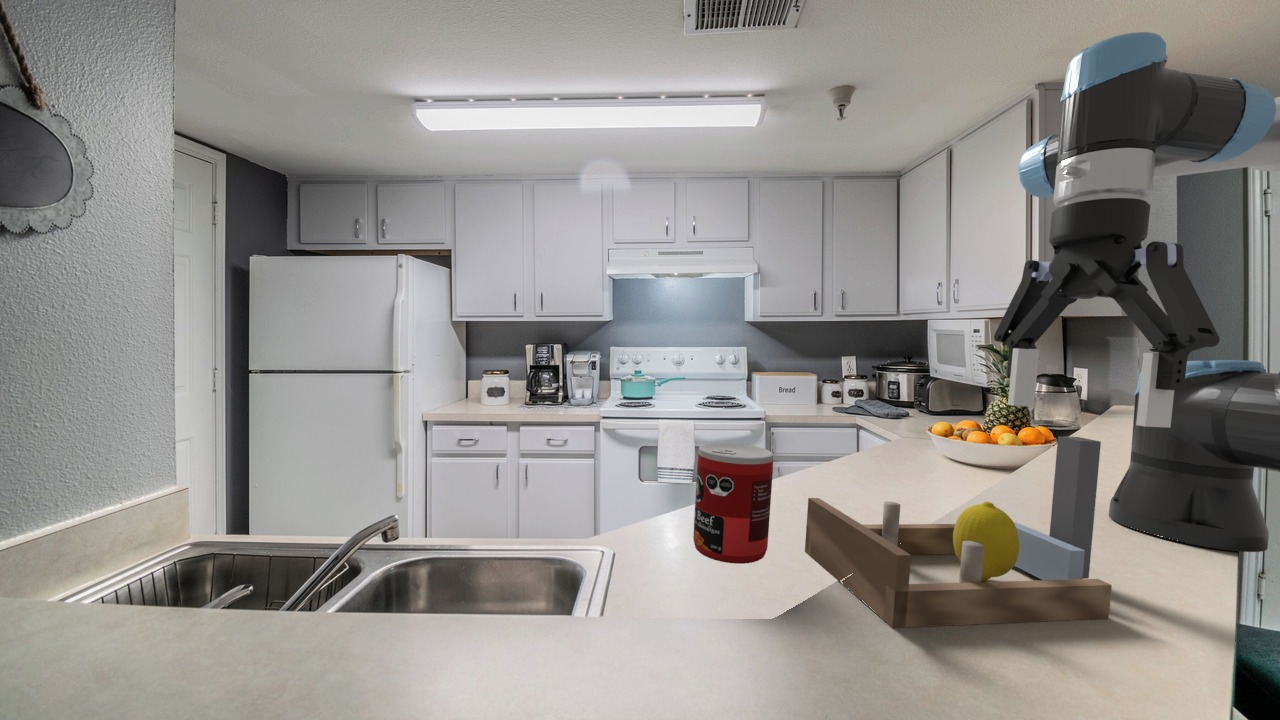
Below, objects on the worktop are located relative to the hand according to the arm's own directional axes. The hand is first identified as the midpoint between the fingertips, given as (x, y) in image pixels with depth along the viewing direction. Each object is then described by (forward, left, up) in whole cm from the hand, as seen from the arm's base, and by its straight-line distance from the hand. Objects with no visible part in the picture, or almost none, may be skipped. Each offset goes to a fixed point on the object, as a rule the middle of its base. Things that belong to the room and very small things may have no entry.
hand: (1078, 415), depth 54 cm
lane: (+14, 0, -17) cm, 22 cm away
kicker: (+1, 0, -16) cm, 17 cm away
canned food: (+33, -8, -17) cm, 38 cm away
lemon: (+10, 0, -17) cm, 20 cm away
